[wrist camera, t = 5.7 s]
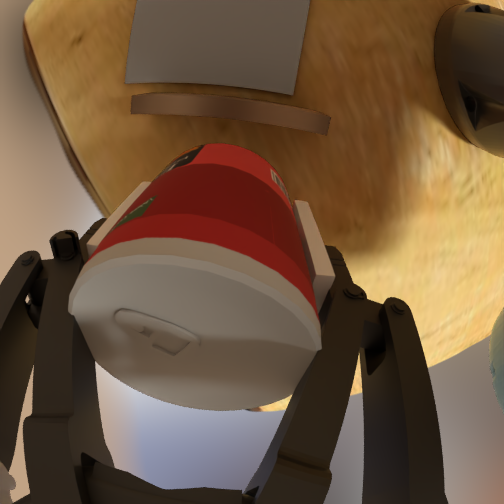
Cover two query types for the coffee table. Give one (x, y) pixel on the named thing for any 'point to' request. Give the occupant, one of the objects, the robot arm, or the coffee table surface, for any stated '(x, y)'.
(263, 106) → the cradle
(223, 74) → the mat
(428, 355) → the coffee table surface
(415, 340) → the robot arm
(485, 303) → the coffee table surface
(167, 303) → the canned food
